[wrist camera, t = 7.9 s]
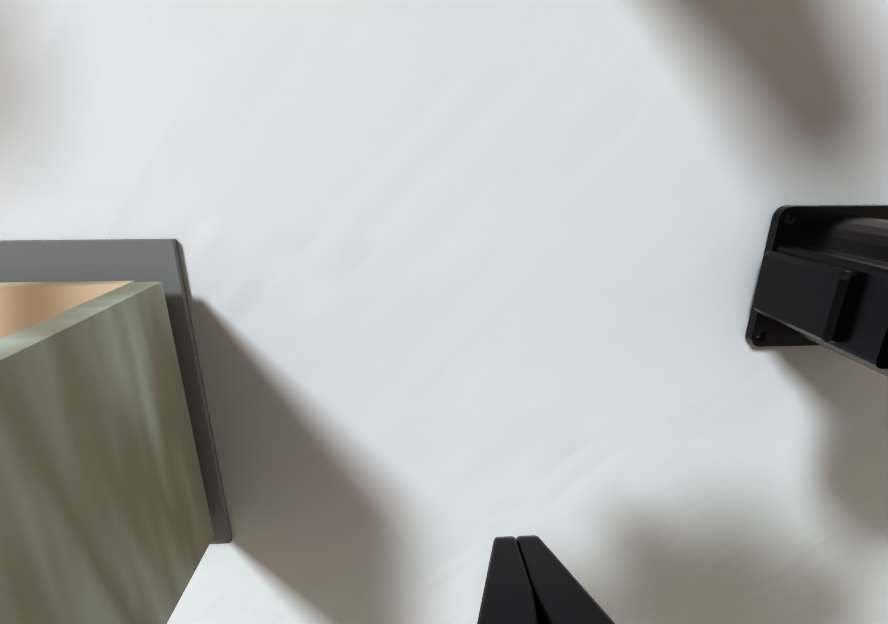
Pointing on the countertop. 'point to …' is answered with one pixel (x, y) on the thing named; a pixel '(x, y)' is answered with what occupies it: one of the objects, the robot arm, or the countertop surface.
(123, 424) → the wooden bookend
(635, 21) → the countertop surface
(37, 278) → the mat
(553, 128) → the countertop surface
